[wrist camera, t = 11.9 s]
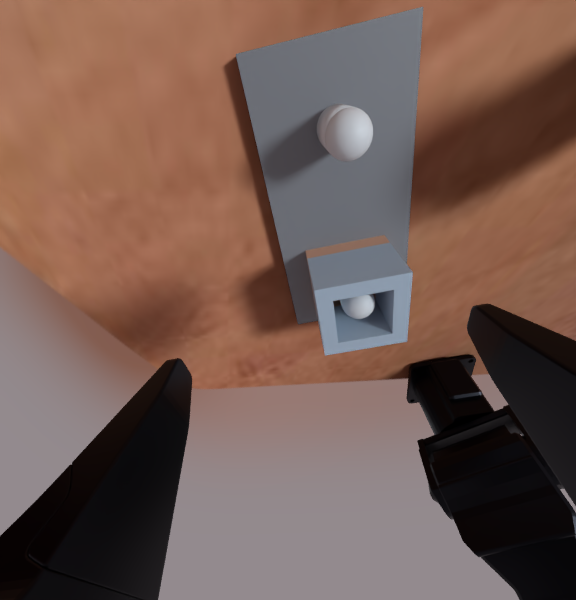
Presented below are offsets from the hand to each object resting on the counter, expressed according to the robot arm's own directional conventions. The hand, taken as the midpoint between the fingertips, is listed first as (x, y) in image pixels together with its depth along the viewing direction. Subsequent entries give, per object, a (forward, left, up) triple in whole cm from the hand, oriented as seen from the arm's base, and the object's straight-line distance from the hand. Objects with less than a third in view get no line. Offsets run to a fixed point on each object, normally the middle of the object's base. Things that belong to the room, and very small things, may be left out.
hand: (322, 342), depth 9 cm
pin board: (-1, -3, -13) cm, 13 cm away
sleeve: (-6, -3, -12) cm, 14 cm away
